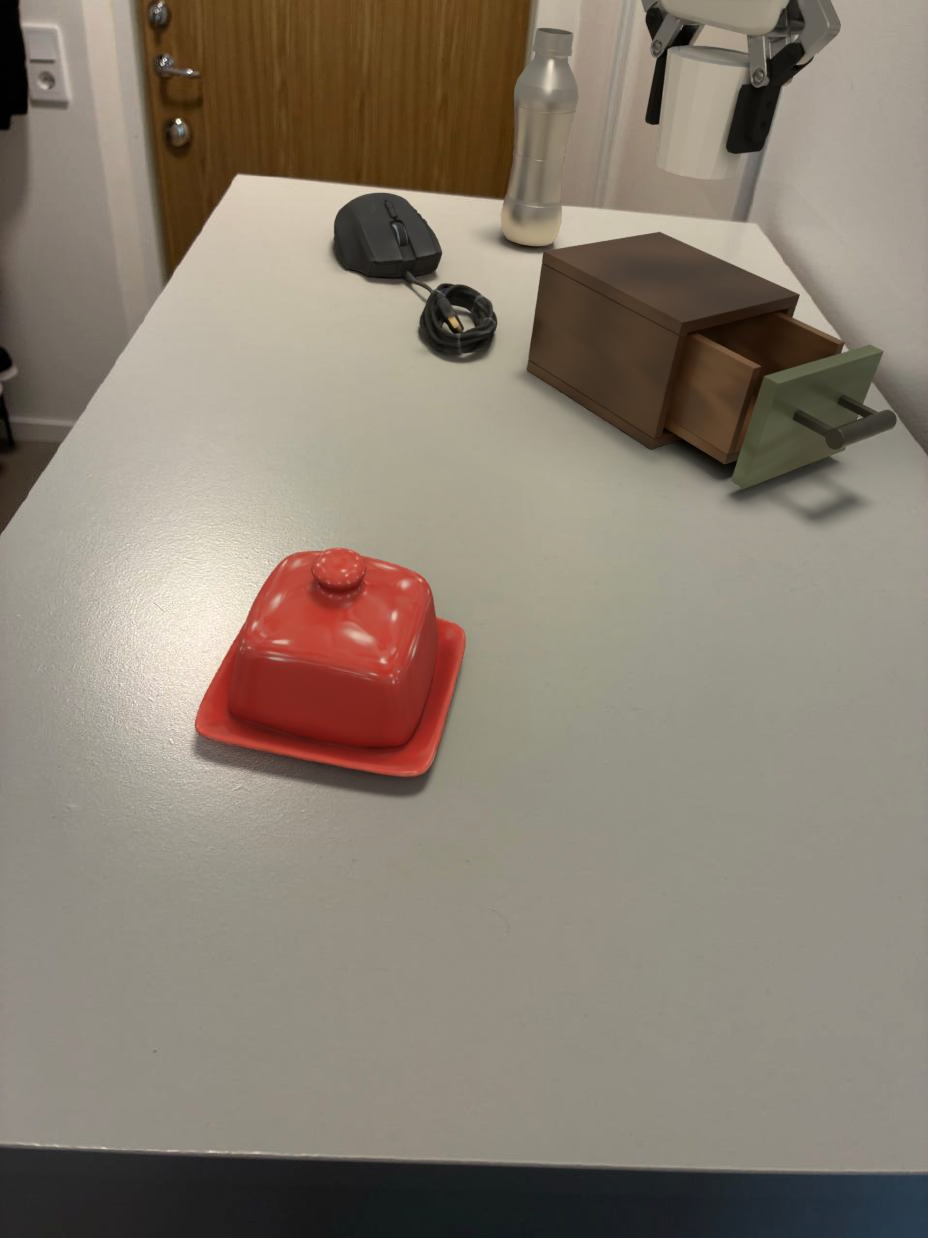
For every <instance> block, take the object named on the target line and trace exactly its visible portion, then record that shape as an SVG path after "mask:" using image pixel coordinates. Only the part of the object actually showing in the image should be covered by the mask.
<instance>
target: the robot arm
mask: <svg viewBox="0 0 928 1238" xmlns="http://www.w3.org/2000/svg"><path fill="white" fill-rule="evenodd" d="M640 1H641V4H642V7H643V12H644V13H646V14H645V19H644V20H645V25H646V27H647V31H648V33H649V37H650V39H651V44H650V47H649V48H650V49H649V51H650V55H651V56H652V57H653V58H655V59H656V60H655V65H654V69H653V75H652V81H651V87H650V91H649V97H648V101H647V107H646V110H645V111H646V112H645V117H644V120H645V123H646V124H648V125H651V126H657V125H658V126H659V121H660V112H661V104H662V95H663V87H664V78H665V70H666V62H667V53H668V49H669V48H671V47H676V46H690V45H691V46H695V44H696V42H697V40H698V38H699V36H700V35H701V34H702V31H703V29H704V28H705V26H709V27H714V28H718V29H720V30H725V31H729V32H734V33H737V34H743V35H746V42H747V51H748V52H747V53H748V55H749V67H750V78H751V84H743V85H742V87H741V88H740V91H739V94H738V99H737V103H736V107H735V111H734V115H733V119H732V123H731V127H730V131H729V135H728V139H727V143H726V149H727V151H728V152H730V153H733V154H741V155H742V154H749V153H759V152H761V151H762V150H763V148H764V147H765V144H766V140H767V137H768V136H769V134H770V131H771V127H772V123H773V119H774V115H775V111H776V108H777V104H778V100H779V97H780V93H781V90H782V87H787V86H788V85H790V84H791V83H792V82H793V79H794V77H795V76H796V75H797V74H799V73H800V72H801V71H802V70H803V69H804V68H806V67H807V66H808V65H810V64H811V62H813V60H814V58H815V56H816V55H818V54H819V53H820V52H821V51H822V50H823V49H825V48H826V46H827V45H829V44H830V43H831V42H832V41H833V40H834V39H835V38H836V37H837V36H838V34H839V33H840V31H841V27H842V24H841V21H840V18H839V16H838V14H837V11H836V10H835V7H834V5H833V2H832V0H640ZM792 36H797V37H796V38H795V39H794V41H793V42H792Z"/></svg>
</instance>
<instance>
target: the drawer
mask: <svg viewBox="0 0 928 1238" xmlns="http://www.w3.org/2000/svg"><path fill="white" fill-rule="evenodd" d="M845 344H846V342H845V341H844V340H842V339H840V338H837V337H835V336H833V335H831V334H829V333H826V332H824V331H823V330H820V329H818V328H816V327H814V326H811V325H809V324H808V323H805V322H803V321H801V320H799V319H797V318H794V317H793V318H792V317H790V316H788V315H786V314H784V313H782V312H780V311H774V312H770V313H766V314H762V315H758V316H754V317H750V318H745V319H741V320H737V321H733V322H729V323H725V324H721V325H717V326H713V327H709V328H705V329H701V330H697V331H693V332H689V333H687V337H686V341H685V345H684V349H683V353H682V357H681V361H680V365H679V369H678V373H677V377H676V381H675V385H674V389H673V393H672V397H671V401H670V405H669V409H668V413H667V417H666V421H665V425H664V427H665V428H666V429H668V430H669V431H671V432H673V433H674V434H676V435H678V436H679V437H681V438H682V439H681V440H684V441H685V442H688V443H689V444H690V445H692V446H694V447H696V448H697V449H699V450H700V451H702V452H704V453H705V454H707V455H709V456H710V457H712V458H713V459H715V460H716V461H718V462H720V463H721V464H723V465H728V464H729V463H733V462H736V465H735V467H734V469H733V470H734V471H733V472H732V477H731V479H730V480H731V482H732V483H733V484H735V485H736V486H738V487H739V488H741V489H743V490H745V489H748V488H750V487H753V486H755V485H758V484H761V483H764V482H766V481H768V480H771V479H773V478H776V477H779V476H781V475H784V474H787V473H789V472H792V471H795V470H797V469H799V468H800V469H801V468H802V467H805V466H808V465H811V464H813V463H815V462H818V461H821V460H823V459H826V458H828V457H831V456H833V455H836V454H839V453H841V452H844V451H846V448H847V447H848V446H849V447H850V446H851V445H854V444H857V443H860V442H861V441H864V440H867V439H869V438H872V437H875V436H877V435H881V434H883V433H885V432H888V431H890V430H893V429H894V428H895V427H896V425H897V423H898V419H897V418H898V417H897V415H896V413H895V412H894V411H893V410H890V409H883V410H880V411H878V410H875V409H873V408H871V407H870V406H868V405H865V404H864V403H865V400H866V397H867V395H868V393H869V390H870V388H871V385H872V382H873V380H874V377H875V375H876V372H877V370H878V368H879V365H880V362H881V360H882V357H883V354H884V350H883V349H881V348H878V347H876V346H874V345H872V344H867V345H864V346H861V347H858V348H854V349H851V350H847V351H844V352H843V349H844V346H845ZM859 416H860V417H861V418H859ZM858 418H859V419H858Z"/></svg>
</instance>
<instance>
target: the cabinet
mask: <svg viewBox="0 0 928 1238" xmlns="http://www.w3.org/2000/svg"><path fill="white" fill-rule="evenodd" d="M800 296H801V294H799V293H798V292H796V291H793V290H791V289H789V288H787V287H785V286H782V285H780V284H777V283H776V282H774V281H771V280H769V279H766V278H764V277H762V276H760V275H758V274H755V273H753V272H751V271H748V270H746V269H744V268H743V267H739V266H737V265H735V264H733V263H731V262H729V261H726V260H724V259H722V258H719V257H717V256H715V255H712V254H710V253H708V252H707V251H704V250H702V249H700V248H697V247H695V246H692V245H690V244H688V243H686V242H684V241H682V240H680V239H677V238H674V237H673V236H670V235H668V234H666V233H664V232H661V231H655V232H650V233H644V234H638V235H631V236H625V237H619V238H613V239H608V240H602V241H595V242H590V243H584V244H577V245H572V246H571V245H570V246H565V247H558V248H554V249H548V250H543V251H542V259H541V267H540V272H539V281H538V288H537V295H536V302H535V307H534V308H535V309H534V315H533V322H532V329H531V338H530V342H529V343H530V344H529V349H528V350H529V352H528V357H527V359H528V360H527V365H526V370H527V371H528V372H530V373H532V375H535V376H536V377H537V378H539V379H541V380H542V381H544V382H545V383H547V384H549V385H550V386H552V387H553V388H555V389H556V390H558V391H559V392H561V393H563V394H564V395H566V396H567V397H569V398H570V399H572V400H573V401H575V402H577V403H578V404H579V405H581V406H582V407H584V408H586V409H587V410H589V411H591V412H592V413H594V415H595V414H596V415H597V416H599V417H600V418H601V419H602V420H605V421H606V422H607V423H609V424H611V425H612V426H613V427H615V428H617V429H619V430H620V431H622V432H623V433H624V434H626V435H628V436H630V437H631V438H633V439H634V440H636V441H638V442H639V443H640V444H642V445H644V446H645V447H647V448H649V449H650V450H653V449H656V448H659V447H662V446H666V445H668V444H669V445H670V444H672V443H675V442H679V441H681V440H683V439H682V438H681V437H679V436H678V435H676V434H674V433H673V432H671V431H669V430H668V429H666V428H665V427H664V425H665V421H666V417H667V413H668V409H669V405H670V401H671V397H672V393H673V389H674V385H675V381H676V377H677V373H678V369H679V365H680V361H681V357H682V353H683V349H684V345H685V341H686V337H687V333H689V332H693V331H697V330H701V329H705V328H709V327H713V326H717V325H721V324H725V323H729V322H733V321H737V320H741V319H745V318H750V317H754V316H758V315H762V314H766V313H770V312H774V311H780V312H782V313H784V314H786V315H788V316H790V317H792V318H794V314H795V312H796V308H797V306H798V303H799V299H800Z"/></svg>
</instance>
